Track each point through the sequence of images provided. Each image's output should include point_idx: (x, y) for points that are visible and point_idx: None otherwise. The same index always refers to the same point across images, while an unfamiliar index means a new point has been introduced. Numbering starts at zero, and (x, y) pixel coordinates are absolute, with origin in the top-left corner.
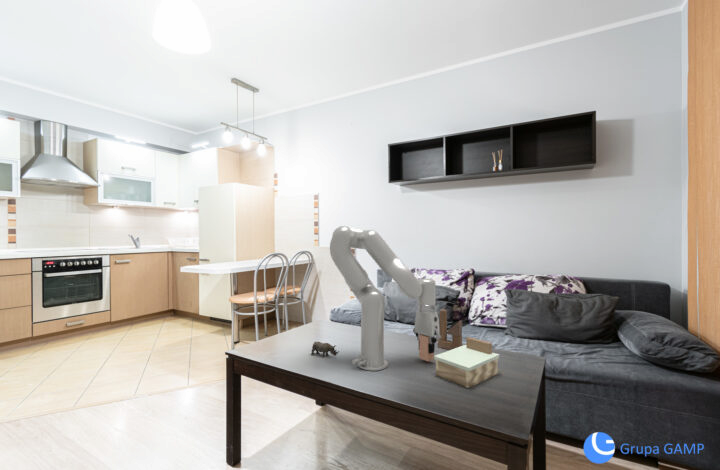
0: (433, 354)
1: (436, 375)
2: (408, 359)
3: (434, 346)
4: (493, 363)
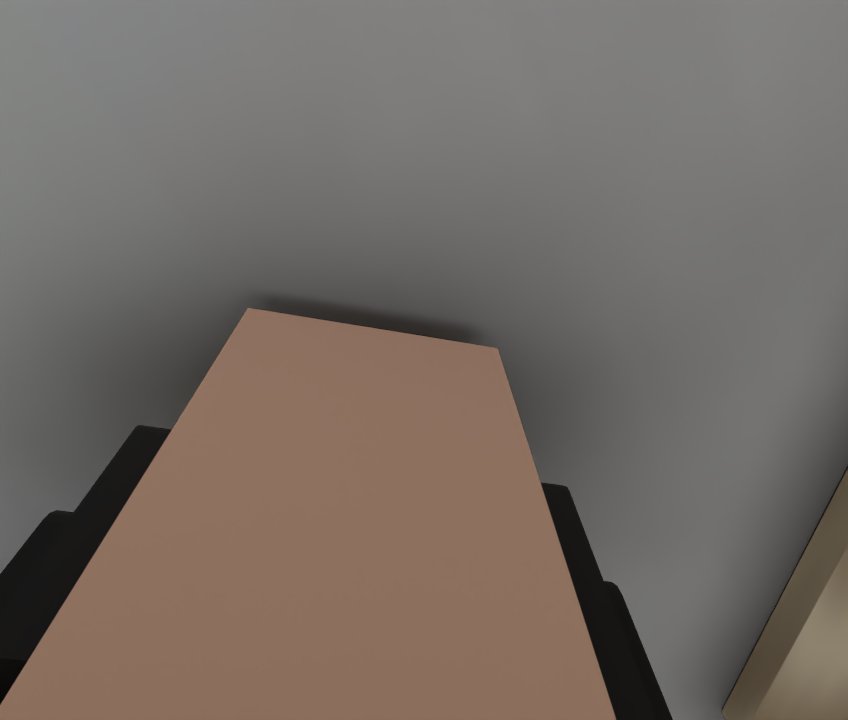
0: (509, 412)
1: (733, 716)
2: (25, 485)
3: (657, 685)
4: None
